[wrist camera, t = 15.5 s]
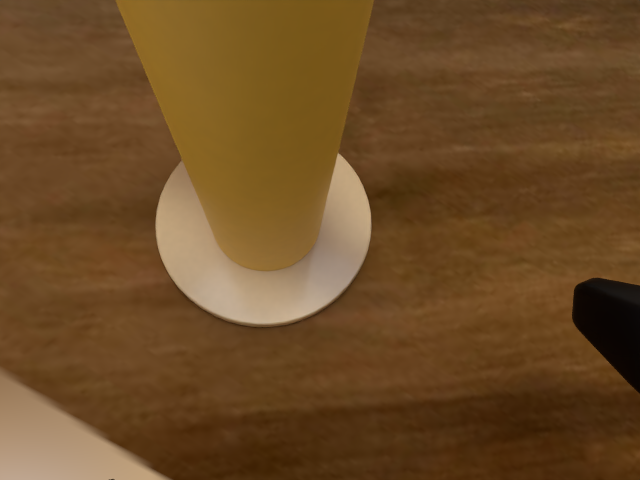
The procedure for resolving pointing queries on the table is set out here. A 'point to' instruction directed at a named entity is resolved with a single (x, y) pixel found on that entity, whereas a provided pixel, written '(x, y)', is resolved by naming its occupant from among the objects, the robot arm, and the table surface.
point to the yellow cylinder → (254, 109)
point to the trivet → (263, 286)
